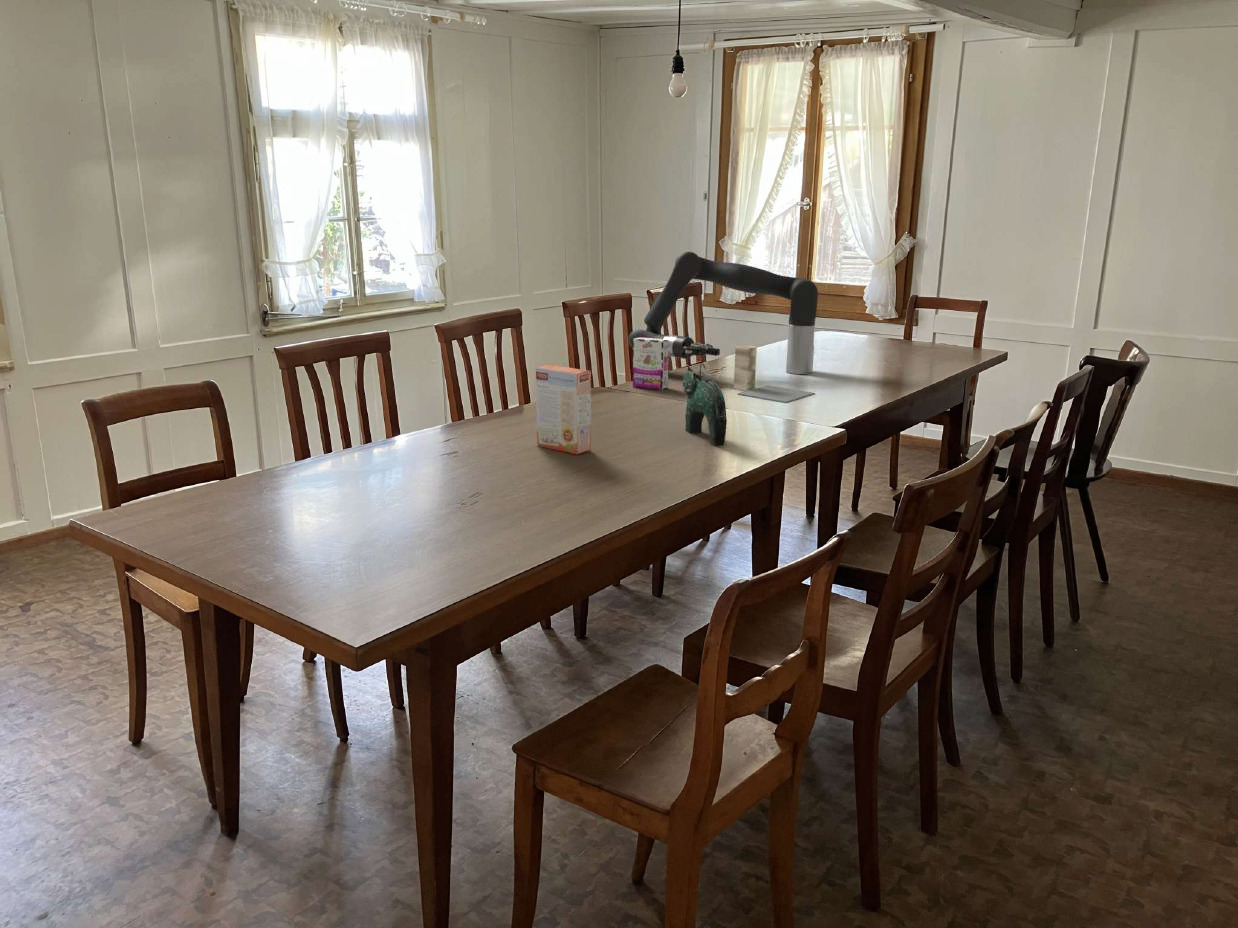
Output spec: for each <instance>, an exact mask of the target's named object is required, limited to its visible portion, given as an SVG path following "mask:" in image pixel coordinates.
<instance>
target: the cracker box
mask: <svg viewBox="0 0 1238 928" xmlns="http://www.w3.org/2000/svg"><path fill="white" fill-rule="evenodd" d="M535 378H536V379H535V387H536V389H535V391H536V393H535V395H536V398H535V399H536V400H535V401H536V445H537V446H538V447H540V448H541V447H542V448H547V449H550V450H555V451H559V452H564V453H567V454H572V455H580V454H583V453H586V452H590V451H591V450H592V371H591V370H585V369H580V368H574V367H568V366H567V367H566V366H559V365H555V364H546V365H542V366H537V367H536V368H535Z"/></svg>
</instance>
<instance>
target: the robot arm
mask: <svg viewBox="0 0 1238 928" xmlns="http://www.w3.org/2000/svg"><path fill="white" fill-rule="evenodd" d="M692 280H697V281H706V282H711V283H714V284H717V285H720V286H723V287H725V288H728V289H732V290H735V291H740V292H743V293H748V294H752V295H754V294H756V295H767V296H775V297H776V296H777V297H780V298H784V299H787V300H789V301H790V308H789V309H790V310H789V311H790V312H789V317H788V327H787V328H788V332H787V348H786V364H785V372H786V373H789V374H796V375H806V374H807V375H808V374H812V372H813V370H814V369H813V368H814V354H815V344H814V342H815V327H816V326H815V325H816V318H817V311H818V299H819V290H818V287H817V286H816V284H815V283H814V282H813V281H812V280H811V279H808V278H805V277H794V276H787V275H786V276H785V275H781V274H777V273H774V272H772V271H768V270H765V269H762V268H758V267H755V266H750V265H747V264H743V263H736V262H726V261H725V262H724V261H723V262H722V261H715V260H711V259H707V258H705V257H701V256H699V255H698V254H697V253H695V252H693V251H684V252H682V253H680V254H679V255H678V256H677V257H676V259H675V262H674V266H673V270H672V272H671V274H670V276H669V279H668V280H667V282H666V284H665V286H664V288H663V289H662V291H661V292H660V294H659V295H658V296H657V297H656V299H655V300H654V302H653V303H652V305H651V307H650V309H649V310H648V312H647V314H646V315H645V318H644V319H643V320H644V321H643V322H644V324H645V326H646V330H645V329H635V330H633V331H631V332H630V333H629V335H628V339H627V341H628V345H629V346H630V347H631V348H632V349H633V339H635V338H638V337H644V338H658V339H669V355H668V357H671V358H678V359H685V360H687V359H688V360H689V359H690V358H691V357H693V356H694V357H695V356H697V357H703V356H714V357H717V356H720V354H721V349H720V348H715V347H714V346H713V345H712V344H710V343H705V344H703V343H701V342H694V339H693V338H692V337H690V336H684V335H683V336H682V335H673V334H671V335H669V334H662V333H661V331H662V328H663V326H664V325H665V323H666V322H667V320H668V318H669V316H670V315H671V313H672V311H673V310H674V307H675V305H676V304H677V302H678V300H679V298H680V296H681V295H682V293H683V291H684V290H685V289H686V287H687V286H688V285H689V283H690V282H691V281H692Z"/></svg>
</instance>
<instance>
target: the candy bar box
mask: <svg viewBox="0 0 1238 928" xmlns="http://www.w3.org/2000/svg"><path fill="white" fill-rule="evenodd" d="M668 355H669V339H658V338H644V337H638V338H635V339H633V348H632V387H633V388H637V389H638V388H639V389H648V390H656V391H663V390H666V389H669V356H668Z"/></svg>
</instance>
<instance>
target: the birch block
mask: <svg viewBox="0 0 1238 928" xmlns="http://www.w3.org/2000/svg"><path fill="white" fill-rule="evenodd" d="M757 347H758V346H753V345H751V346H750V345H747V344H746V345H745V344H743V345H739V346H735V347H734V348H735V351H734V373H733V390H736V391H737V390H738V391H742V392H744V391H748V390H752V389H755V388H756V370H757V369H756V368H757V351H758V350H757V349H758V348H757Z"/></svg>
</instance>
